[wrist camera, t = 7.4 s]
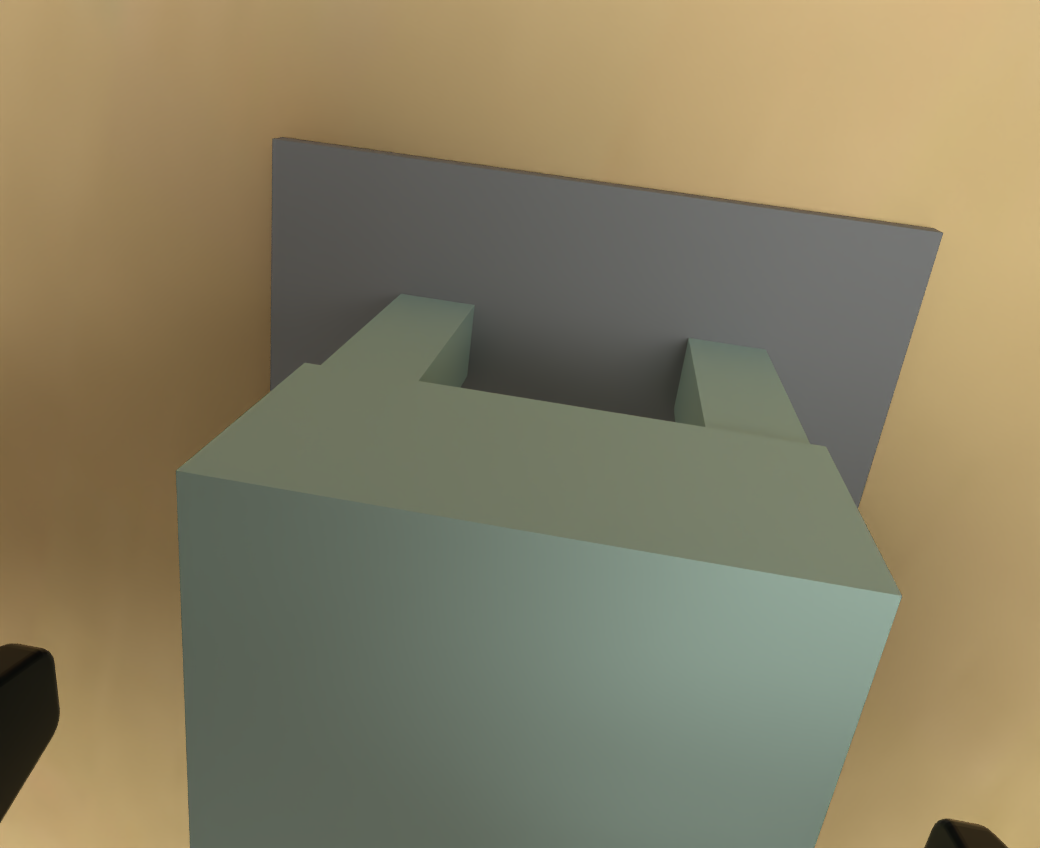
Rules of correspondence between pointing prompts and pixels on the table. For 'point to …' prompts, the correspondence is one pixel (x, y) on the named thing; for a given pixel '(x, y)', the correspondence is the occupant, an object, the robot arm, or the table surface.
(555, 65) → the table surface
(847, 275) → the mat
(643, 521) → the notched green block
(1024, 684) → the table surface
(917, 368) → the table surface
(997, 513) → the table surface
